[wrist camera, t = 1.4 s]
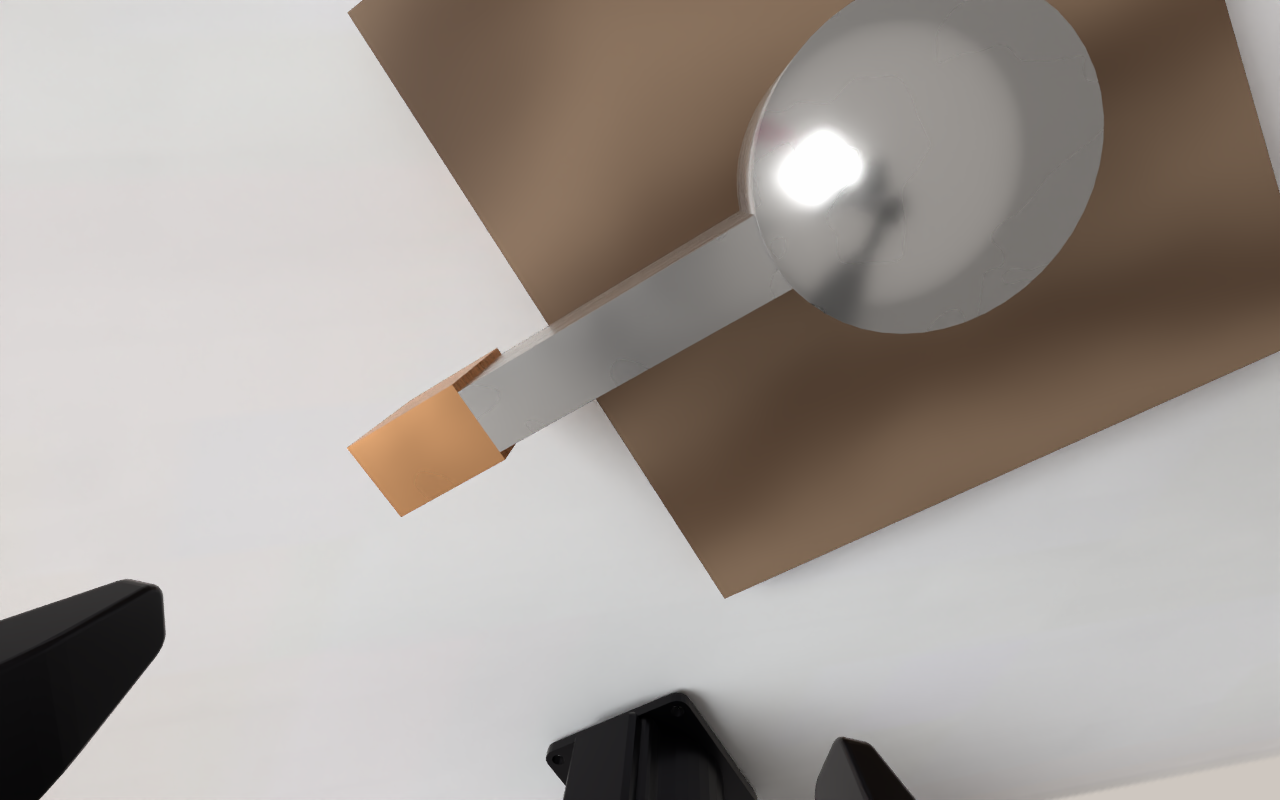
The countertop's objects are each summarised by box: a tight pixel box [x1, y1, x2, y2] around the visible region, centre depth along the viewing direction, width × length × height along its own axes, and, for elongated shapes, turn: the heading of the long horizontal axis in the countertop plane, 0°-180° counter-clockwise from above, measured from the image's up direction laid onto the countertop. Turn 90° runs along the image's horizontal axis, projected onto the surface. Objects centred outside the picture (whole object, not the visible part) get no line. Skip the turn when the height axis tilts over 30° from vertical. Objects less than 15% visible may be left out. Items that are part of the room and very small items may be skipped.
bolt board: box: [348, 0, 1280, 598], centre depth 14 cm, size 20×18×6 cm
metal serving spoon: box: [347, 0, 1104, 517], centre depth 13 cm, size 16×6×4 cm, turn 121°
